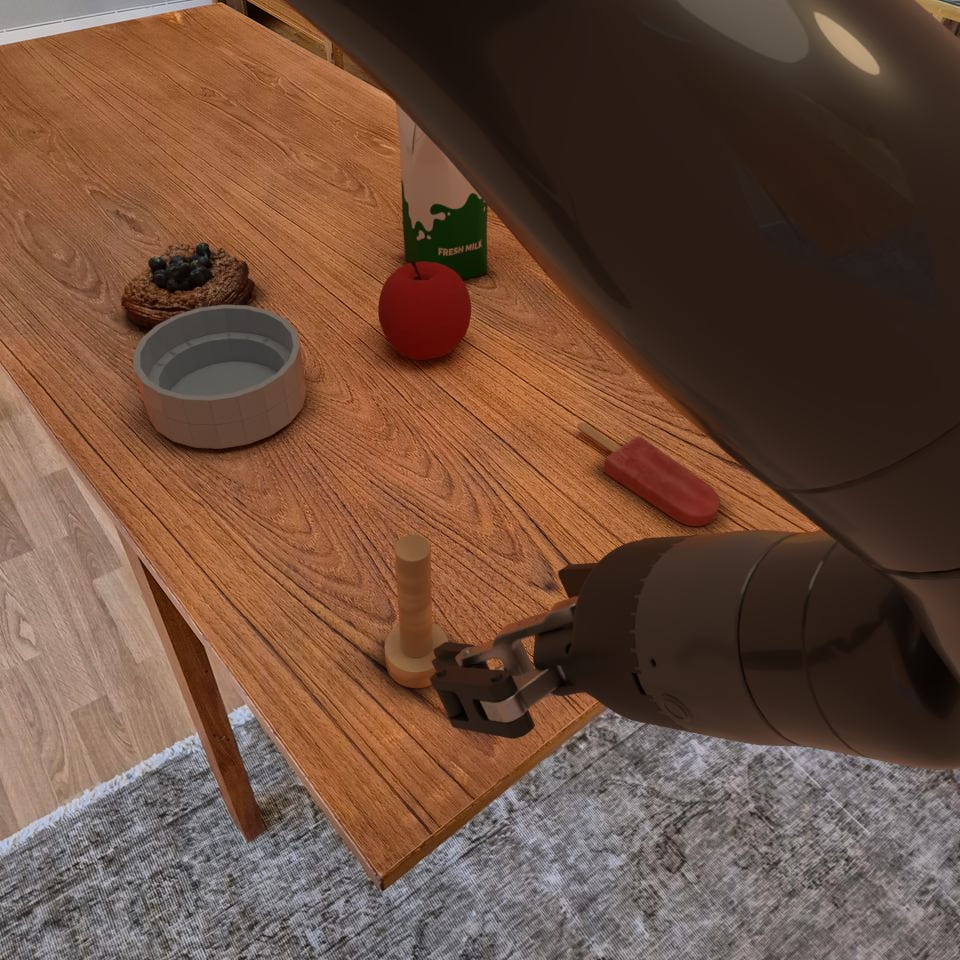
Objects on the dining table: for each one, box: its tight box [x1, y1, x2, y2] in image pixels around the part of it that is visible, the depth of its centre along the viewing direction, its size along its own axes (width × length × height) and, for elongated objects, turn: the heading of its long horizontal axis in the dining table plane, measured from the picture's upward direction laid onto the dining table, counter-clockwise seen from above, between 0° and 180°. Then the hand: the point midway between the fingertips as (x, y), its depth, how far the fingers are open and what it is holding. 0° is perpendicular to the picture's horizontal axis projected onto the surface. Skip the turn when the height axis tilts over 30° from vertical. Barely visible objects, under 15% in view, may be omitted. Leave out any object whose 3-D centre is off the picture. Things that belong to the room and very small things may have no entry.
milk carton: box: [395, 103, 489, 281], centre depth 94 cm, size 9×9×20 cm
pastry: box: [120, 242, 257, 333], centre depth 92 cm, size 11×12×6 cm
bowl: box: [132, 305, 307, 450], centre depth 80 cm, size 14×14×6 cm
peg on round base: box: [384, 534, 449, 689], centre depth 58 cm, size 4×4×12 cm
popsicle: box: [577, 422, 721, 527], centre depth 76 cm, size 4×2×15 cm
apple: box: [377, 259, 472, 361], centre depth 86 cm, size 9×9×10 cm
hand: (509, 623), depth 47 cm, fingers open, 8 cm apart
